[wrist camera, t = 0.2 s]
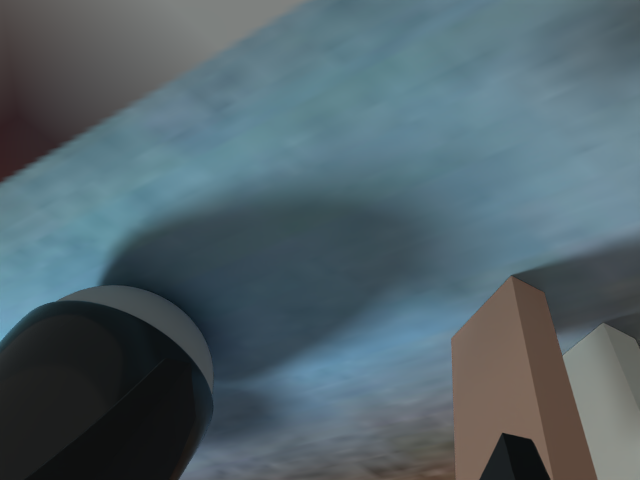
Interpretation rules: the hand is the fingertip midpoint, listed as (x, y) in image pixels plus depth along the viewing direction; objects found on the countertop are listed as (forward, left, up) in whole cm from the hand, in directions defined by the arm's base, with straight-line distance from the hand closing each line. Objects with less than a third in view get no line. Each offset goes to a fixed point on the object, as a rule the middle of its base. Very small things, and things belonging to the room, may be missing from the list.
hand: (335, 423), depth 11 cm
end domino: (-6, -4, -10) cm, 12 cm away
